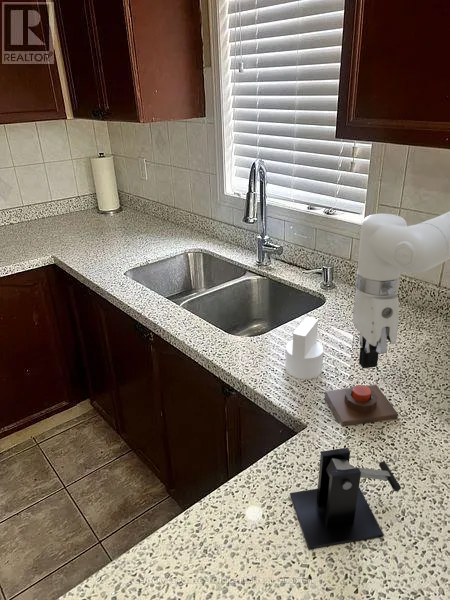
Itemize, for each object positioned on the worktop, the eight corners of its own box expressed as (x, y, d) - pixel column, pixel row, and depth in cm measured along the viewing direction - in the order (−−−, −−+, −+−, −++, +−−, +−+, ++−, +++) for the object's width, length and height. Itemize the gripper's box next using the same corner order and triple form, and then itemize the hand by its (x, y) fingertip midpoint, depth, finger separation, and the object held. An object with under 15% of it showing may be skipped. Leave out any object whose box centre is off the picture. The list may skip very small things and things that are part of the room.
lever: (382, 469, 73) (388, 458, 72) (397, 494, 69) (404, 483, 68) (322, 462, 70) (328, 451, 69) (334, 488, 66) (340, 476, 65)
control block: (375, 392, 101) (377, 377, 99) (397, 422, 92) (399, 407, 90) (324, 398, 100) (325, 384, 98) (341, 430, 91) (343, 414, 89)
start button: (365, 390, 96) (366, 383, 95) (372, 401, 93) (374, 394, 92) (349, 392, 96) (350, 385, 95) (356, 403, 92) (357, 396, 92)
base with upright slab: (293, 354, 116) (295, 313, 110) (327, 363, 111) (330, 321, 106) (279, 373, 109) (280, 330, 103) (314, 383, 105) (317, 339, 99)
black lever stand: (356, 488, 78) (364, 432, 72) (382, 540, 69) (394, 482, 63) (289, 498, 76) (292, 443, 71) (308, 553, 68) (313, 495, 62)
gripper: (418, 297, 76) (404, 385, 84) (378, 265, 89) (369, 344, 97) (376, 302, 75) (366, 390, 83) (342, 269, 88) (336, 348, 96)
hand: (367, 365), depth 90 cm, fingers closed
